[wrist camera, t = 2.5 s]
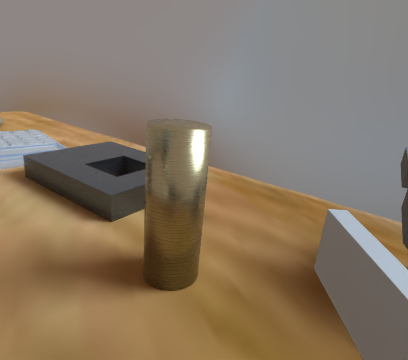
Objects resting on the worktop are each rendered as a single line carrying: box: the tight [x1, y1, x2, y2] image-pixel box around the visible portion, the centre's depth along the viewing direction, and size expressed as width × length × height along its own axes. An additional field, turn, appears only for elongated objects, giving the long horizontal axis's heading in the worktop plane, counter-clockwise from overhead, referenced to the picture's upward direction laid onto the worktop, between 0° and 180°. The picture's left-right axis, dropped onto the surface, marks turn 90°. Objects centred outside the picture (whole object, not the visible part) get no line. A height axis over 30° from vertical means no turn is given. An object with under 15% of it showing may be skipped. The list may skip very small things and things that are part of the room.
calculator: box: [0, 130, 66, 169], centre depth 52 cm, size 13×20×2 cm, turn 43°
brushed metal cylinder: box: [143, 119, 212, 291], centre depth 23 cm, size 4×4×12 cm
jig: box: [23, 142, 146, 222], centre depth 41 cm, size 18×14×3 cm
